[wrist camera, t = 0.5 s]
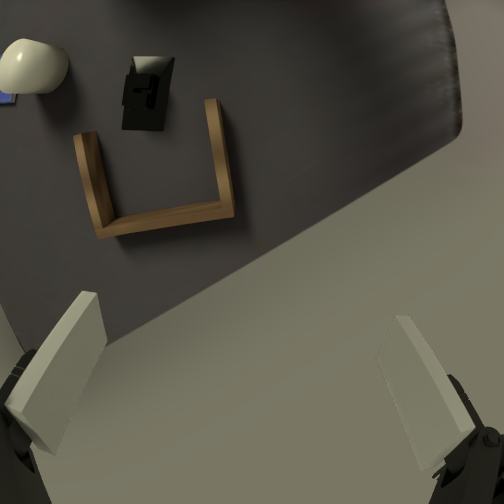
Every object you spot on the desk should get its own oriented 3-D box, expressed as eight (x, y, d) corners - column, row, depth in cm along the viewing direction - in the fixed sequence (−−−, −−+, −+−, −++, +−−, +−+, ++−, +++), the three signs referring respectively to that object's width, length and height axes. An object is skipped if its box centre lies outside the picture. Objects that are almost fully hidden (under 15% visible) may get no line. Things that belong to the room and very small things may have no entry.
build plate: (168, 143, 34) (158, 147, 30) (115, 139, 34) (99, 143, 29) (184, 47, 29) (175, 38, 25) (129, 47, 28) (114, 40, 24)
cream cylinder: (31, 59, 27) (-4, 55, 19) (67, 39, 26) (34, 29, 19) (33, 100, 30) (-3, 102, 22) (70, 83, 29) (35, 79, 22)
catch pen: (88, 133, 32) (73, 136, 29) (219, 100, 32) (215, 97, 28) (110, 228, 38) (97, 238, 34) (235, 207, 37) (234, 217, 33)
